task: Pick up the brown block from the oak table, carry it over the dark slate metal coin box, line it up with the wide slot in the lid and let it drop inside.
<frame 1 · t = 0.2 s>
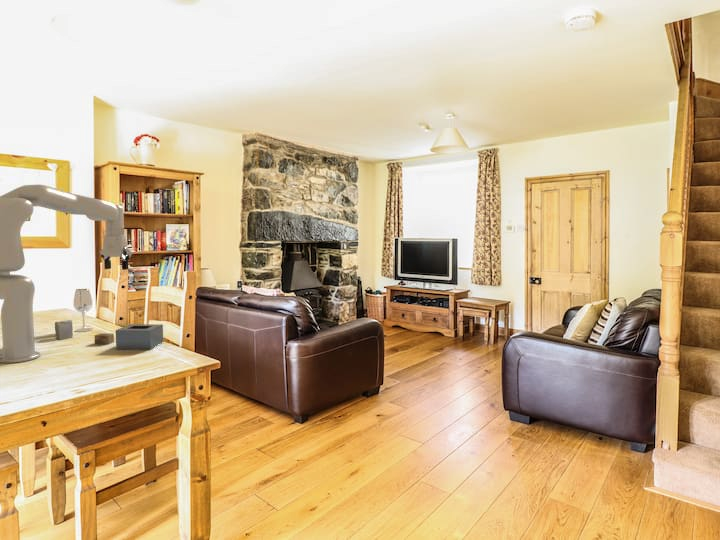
hand: (116, 269, 209), 31 cm above the table, tool pointing down, fingers open, 9 cm apart
brown block: (104, 343, 194), on the table
wineglass: (84, 330, 220), on the table
coin box: (140, 346, 190), on the table
grey block: (62, 338, 204), on the table
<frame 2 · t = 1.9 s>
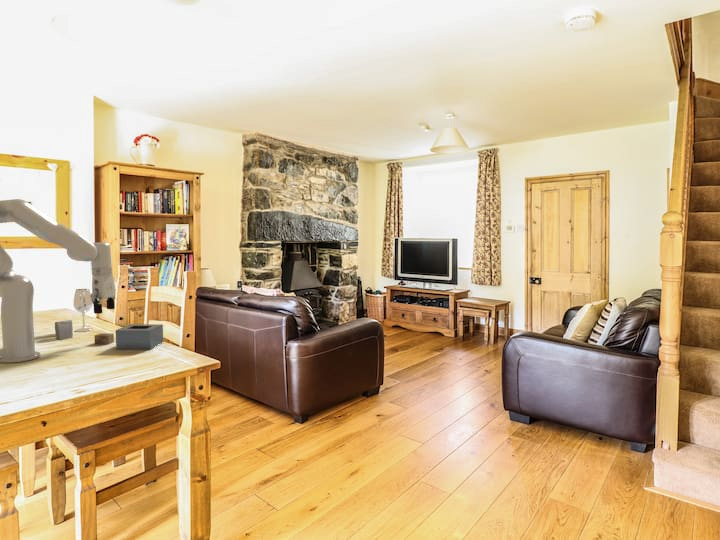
hand: (104, 311, 194), 14 cm above the table, tool pointing down, fingers open, 9 cm apart
nothing on the table moved.
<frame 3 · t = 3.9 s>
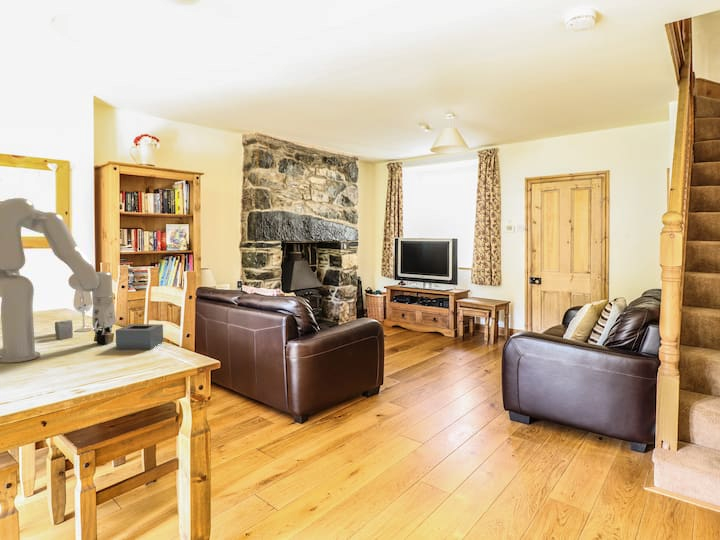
hand: (104, 342, 194), 0 cm above the table, tool pointing down, fingers closed on brown block, 3 cm apart
brown block: (103, 341, 194), point 1 cm above the table, tilted 13°, touching gripper
everything else where it was.
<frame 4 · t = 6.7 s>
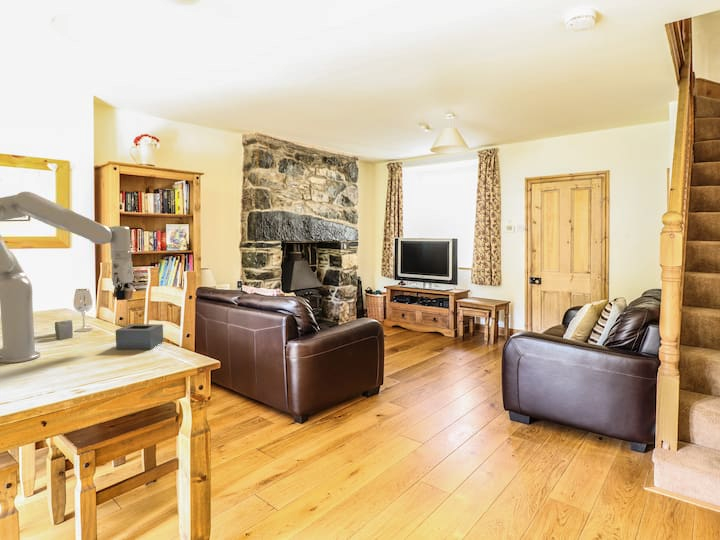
hand: (123, 298, 191), 20 cm above the table, tool pointing down, fingers closed on brown block, 4 cm apart
brown block: (122, 297, 191), point 20 cm above the table, tilted 14°, touching gripper
everything else where it was.
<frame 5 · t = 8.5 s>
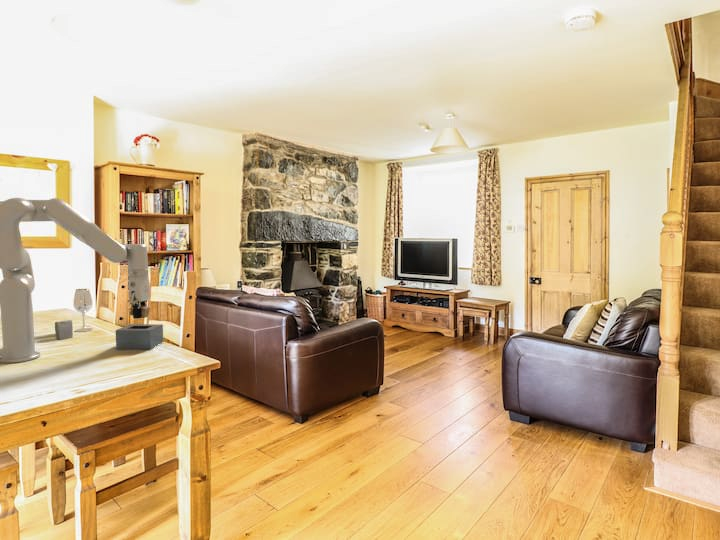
hand: (140, 316, 189), 12 cm above the table, tool pointing down, fingers closed on brown block, 4 cm apart
brown block: (138, 315, 189), point 13 cm above the table, tilted 15°, touching gripper
everything else where it was.
when the fingers open (10 cm above the table, at t = 9.6 s): brown block drops 11 cm, resting in coin box.
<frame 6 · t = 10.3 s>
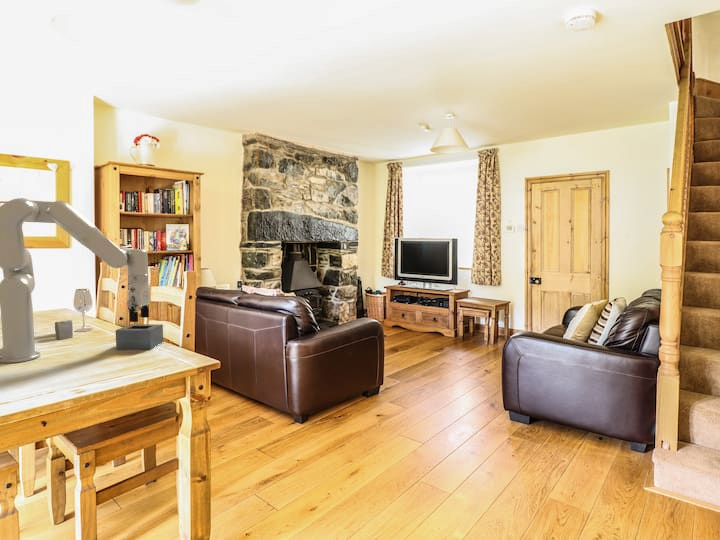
hand: (139, 319, 189), 11 cm above the table, tool pointing down, fingers open, 9 cm apart
brown block: (139, 346, 190), resting in coin box
everything else where it was.
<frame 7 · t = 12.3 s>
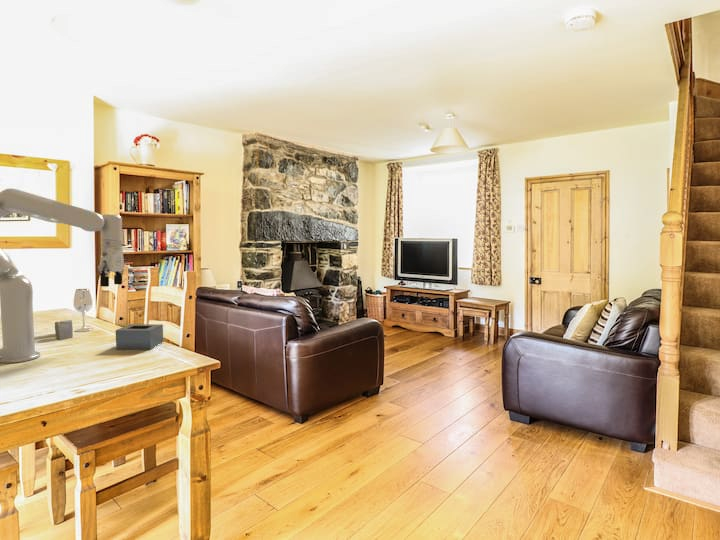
hand: (111, 285, 189), 26 cm above the table, tool pointing down, fingers open, 9 cm apart
nothing on the table moved.
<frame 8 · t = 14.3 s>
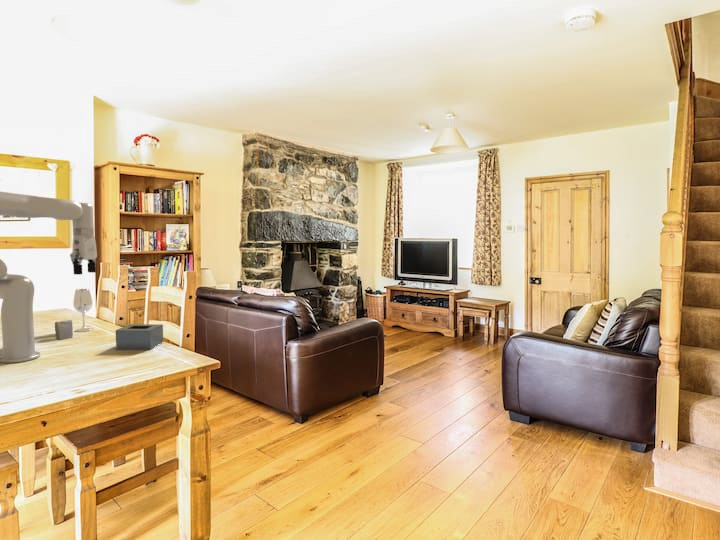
hand: (85, 273, 191), 30 cm above the table, tool pointing down, fingers open, 9 cm apart
nothing on the table moved.
at the end: brown block 0.8 cm off-centre on the coin box, point 0.0 cm above the coin box's base; the gripper is holding nothing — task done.
